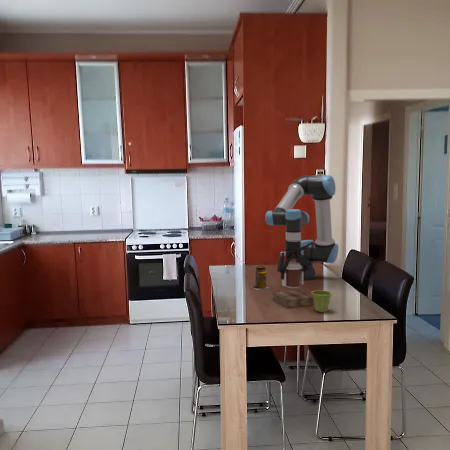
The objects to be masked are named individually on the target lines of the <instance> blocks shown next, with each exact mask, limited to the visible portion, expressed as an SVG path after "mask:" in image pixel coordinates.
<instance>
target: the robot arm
mask: <svg viewBox="0 0 450 450" xmlns="http://www.w3.org/2000/svg"><path fill="white" fill-rule="evenodd" d="M336 189H337V187H336V182H335V180H334V177H333V176H332V175H329V174H327V175H326V174H313V175H312V174H306V175H301V176H299V177H298V178H296V179H295V180H293V181H292V182H291V183H290V184H289V186H288V187H287V192H286V193H285V194H284V195H283V196H282V198H281V200H280V201H279V203H278V204H277V206H276V207H275V208H274V210H268V211H267V212H266V213H265V217H264V218H265V223H266V225H269V226H273V227H274V226H278V227H279V226H281V227H283V226H284V227H285V240H286V241H285V251H280V252H279V260H278V264H277V270H276V271H277V272H279V273H280V279H281V285H282V286H283V287H286V273H285V271H286V268H287V266H288V264H289V262H292V260H294V261H293V262H298V263H300V265H301V266H302V269H301V273H300V284H299V285H304V281H308V280H314V279H316V278H317V274H316V271H315V270H316V269H315V266H314V263H323V264H325V263H326V264H333V263H335V262H336V260H337V258H338V254H339V244H337V243H336V241H335V239H334V238H333V233H332V230H333V229H332V214H331V213H332V212H331V200H332V199H333V196H335V195H336ZM303 196H311V199H312V201H314V205H315V206H314V208H315V220H316V221H315V223H316V234H317V235H316V237H317V238H316V239H315V241H314V240H313V239H304V240H302V227H304V226H307V225H308V224H309V222H310V216H309V213H307V212H306V211H302V210H301V209H299V208H298V209H295V208H294V206H295V205H296V203H297V202H298V200H300V199H301V198H302V197H303Z"/></svg>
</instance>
